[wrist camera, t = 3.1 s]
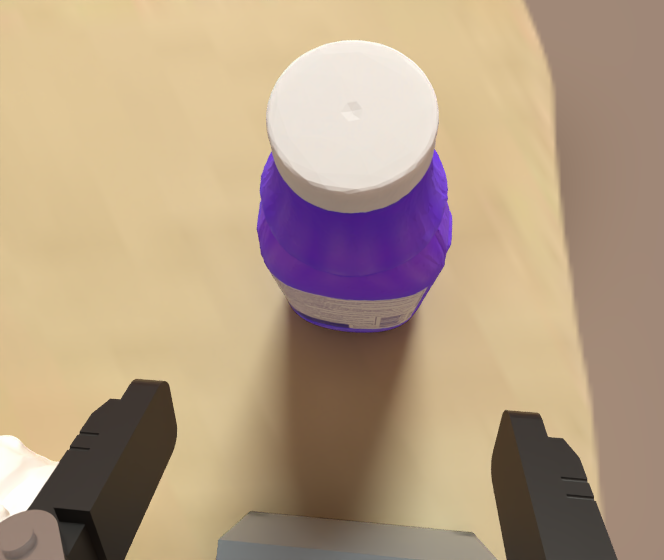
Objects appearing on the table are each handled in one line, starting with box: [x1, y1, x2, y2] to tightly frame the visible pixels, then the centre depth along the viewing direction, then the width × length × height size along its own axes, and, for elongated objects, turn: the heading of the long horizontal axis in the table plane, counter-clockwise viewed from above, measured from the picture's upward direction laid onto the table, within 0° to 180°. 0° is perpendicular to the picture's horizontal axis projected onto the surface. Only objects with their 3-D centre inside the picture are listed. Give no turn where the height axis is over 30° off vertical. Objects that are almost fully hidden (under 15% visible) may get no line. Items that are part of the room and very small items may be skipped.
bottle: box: [257, 40, 452, 333], centre depth 21 cm, size 7×6×17 cm
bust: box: [0, 435, 59, 522], centre depth 22 cm, size 12×8×11 cm
